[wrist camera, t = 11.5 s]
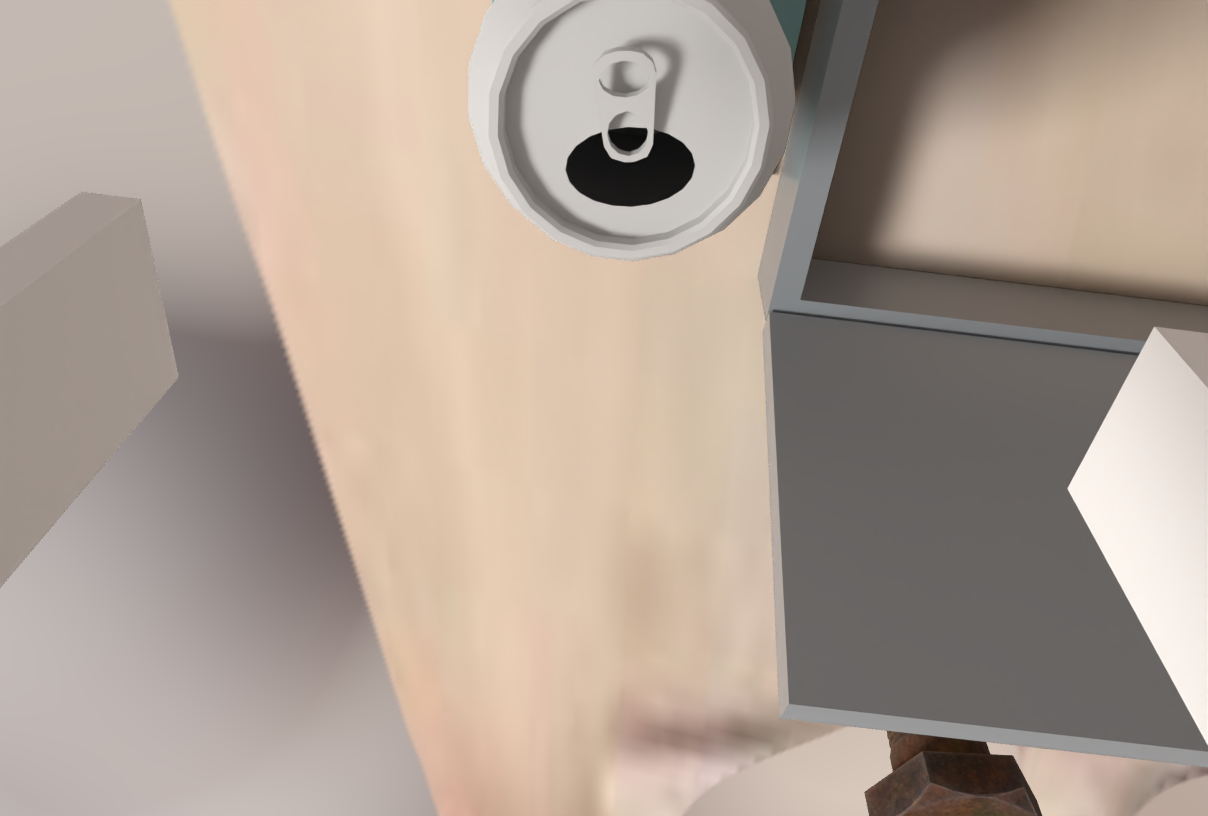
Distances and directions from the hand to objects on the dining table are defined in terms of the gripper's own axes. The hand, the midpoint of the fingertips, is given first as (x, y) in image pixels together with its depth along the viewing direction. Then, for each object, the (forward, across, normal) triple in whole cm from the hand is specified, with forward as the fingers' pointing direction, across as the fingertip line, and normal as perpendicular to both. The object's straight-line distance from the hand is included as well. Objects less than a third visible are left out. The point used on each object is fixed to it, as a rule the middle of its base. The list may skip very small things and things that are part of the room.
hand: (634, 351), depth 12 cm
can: (+21, +1, 0) cm, 21 cm away
